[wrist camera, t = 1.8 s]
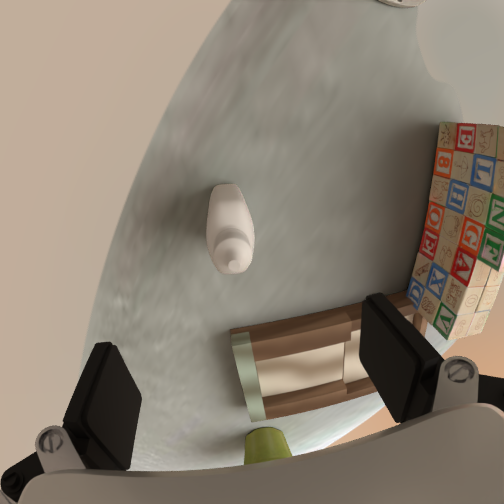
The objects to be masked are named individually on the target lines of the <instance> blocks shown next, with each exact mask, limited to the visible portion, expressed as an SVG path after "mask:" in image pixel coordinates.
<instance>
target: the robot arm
mask: <svg viewBox="0 0 504 504" xmlns="http://www.w3.org/2000/svg"><path fill="white" fill-rule="evenodd" d="M378 1H380V2H383V3H386V4H388V5H391V6H395V7H401V8H410V7H415V6H417V5H420V4H422V3H423V2H425V1H426V0H378ZM359 359H360V362H361V364H362V366H363V367H364V369H365V371H366V372H367V374H368V376H369V377H370V379H371V381H372V383H373V384H374V386H375V388H376V389H377V391H378V393H379V395H380V396H381V398H382V400H383V401H384V403H385V405H386V407H387V408H388V410H389V412H390V414H391V415H392V417H393V419H394V421H395V422H396V423H399V422H400V423H401V424H399V425H396V426H394V427H391V428H388V429H386V430H383V431H380V432H377V433H374V434H371V435H368V436H365V437H362V438H359V439H356V440H353V441H350V442H346V443H343V444H340V445H337V446H333V447H329V448H325V449H322V450H318V451H314V452H310V453H305V454H301V455H297V456H292V457H287V458H282V459H277V460H272V461H266V462H261V463H254V464H248V465H241V466H233V467H224V468H214V469H202V470H187V471H126V470H128V469H129V468H130V465H131V459H132V452H133V446H134V440H135V434H136V429H137V423H138V418H139V412H140V407H141V402H142V397H141V393H140V391H139V389H138V388H137V386H136V384H135V382H134V380H133V378H132V376H131V374H130V372H129V370H128V368H127V366H126V364H125V362H124V360H123V358H122V356H121V354H120V352H119V350H118V348H117V346H116V345H113V344H112V343H111V342H101V343H96V344H95V346H94V348H93V350H92V352H91V354H90V357H89V359H88V361H87V363H86V365H85V368H84V370H83V372H82V374H81V377H80V379H79V381H78V384H77V386H76V388H75V391H74V393H73V396H72V398H71V401H70V403H69V406H68V408H67V411H66V413H65V416H64V418H63V422H64V423H63V426H62V427H60V426H49V427H47V428H45V429H44V430H42V431H41V432H40V433H39V435H38V436H37V438H36V442H35V447H36V452H34V453H33V454H31V455H30V456H28V457H26V458H25V459H23V460H22V461H20V462H18V463H17V464H15V465H14V466H12V467H10V468H9V469H7V470H6V471H5V472H4V474H3V475H2V478H1V490H0V504H504V378H498V377H491V376H486V375H480V374H479V372H478V368H477V366H476V364H475V363H474V362H473V361H472V360H470V359H468V358H466V357H462V356H453V357H449V358H448V359H446V360H444V359H443V358H442V357H441V355H440V354H439V353H438V352H437V351H436V350H435V349H434V347H433V346H432V345H431V344H430V343H429V342H428V341H427V340H426V339H425V337H424V336H423V335H422V334H421V333H420V332H419V331H418V330H417V329H416V328H415V326H414V325H413V324H412V323H411V322H410V321H408V320H407V319H406V318H405V317H404V316H403V315H402V314H401V312H400V311H399V310H398V309H397V308H396V307H395V306H394V305H393V304H392V303H391V302H390V301H389V300H388V299H387V298H386V297H385V296H384V295H383V294H382V293H376V294H372V295H369V296H367V297H366V300H364V301H363V302H362V312H361V330H360V344H359Z"/></svg>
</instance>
